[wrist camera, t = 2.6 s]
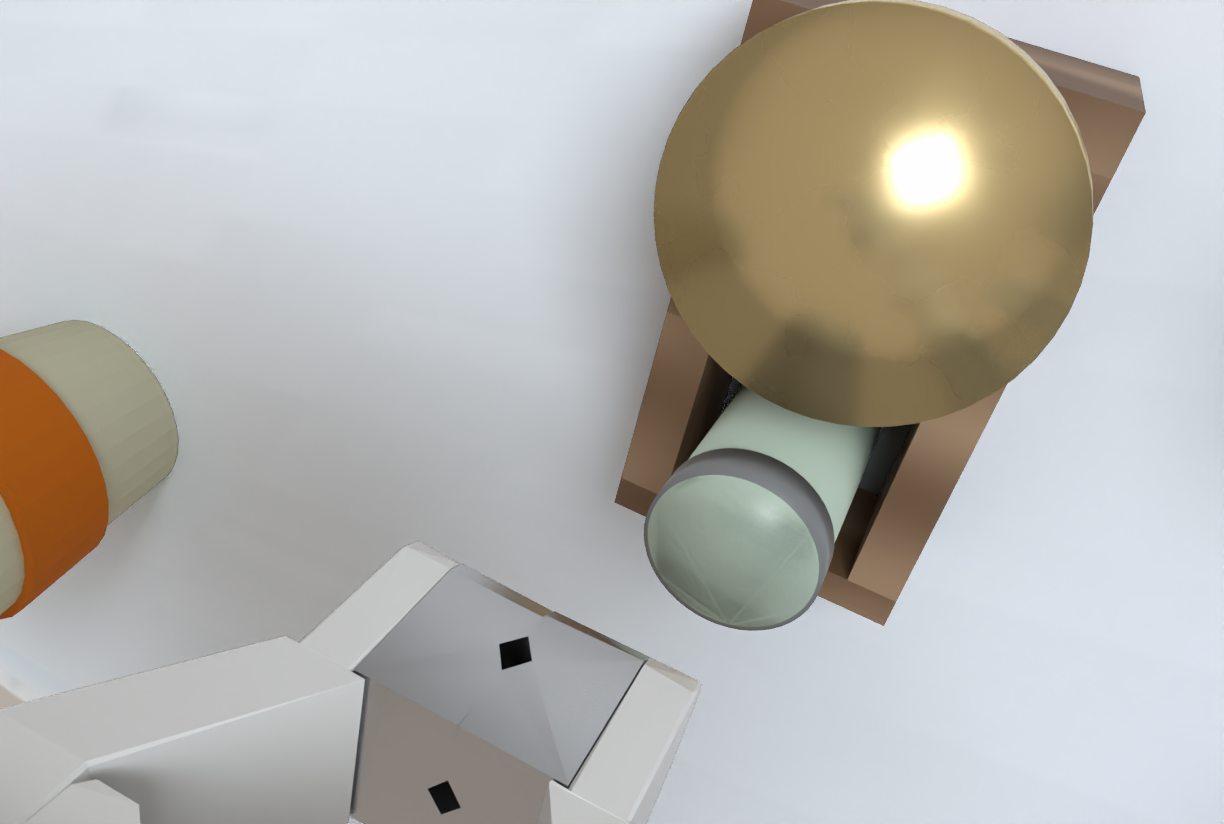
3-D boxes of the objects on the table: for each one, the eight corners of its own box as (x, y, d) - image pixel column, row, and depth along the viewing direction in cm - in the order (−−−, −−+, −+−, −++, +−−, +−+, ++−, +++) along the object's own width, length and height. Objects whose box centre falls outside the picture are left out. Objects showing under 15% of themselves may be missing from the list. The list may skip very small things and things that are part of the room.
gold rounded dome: (999, 380, 27) (976, 487, 22) (698, 264, 29) (616, 338, 24) (1169, 43, 22) (1188, 86, 17) (792, -66, 24) (714, -55, 19)
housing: (910, 537, 33) (883, 625, 29) (670, 433, 36) (614, 502, 32) (1138, 76, 25) (1145, 112, 21) (806, -23, 27) (755, -8, 23)
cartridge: (866, 471, 33) (788, 659, 25) (740, 418, 34) (626, 581, 26) (917, 354, 31) (850, 521, 23) (779, 301, 32) (668, 442, 24)
